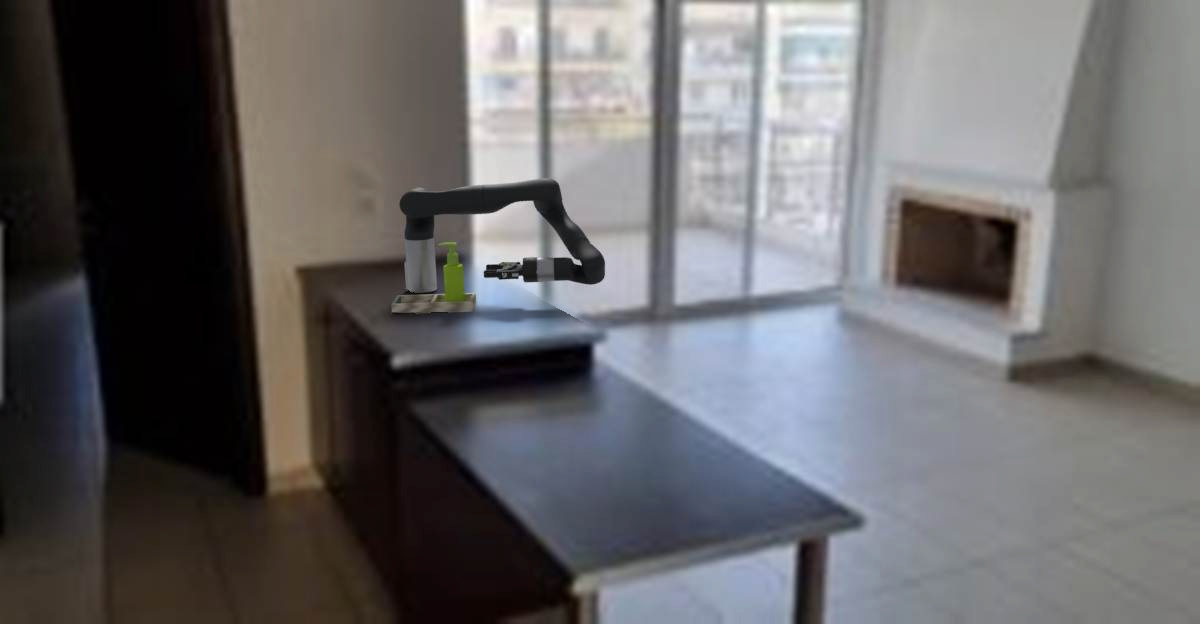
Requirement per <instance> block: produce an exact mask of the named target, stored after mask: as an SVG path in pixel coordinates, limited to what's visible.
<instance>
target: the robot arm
mask: <svg viewBox="0 0 1200 624" xmlns="http://www.w3.org/2000/svg"><path fill="white" fill-rule="evenodd" d="M519 202H533V206H534V208H535V209H536V211H537V212H538V213H539V214H540V215H541V216H542V218H543V219H545V220H546V221H547V223H549V225H550V226H551V227H552V229H554V231H555V233H556V234H557V235H558V237H559V238H560V240H561V242H562V244H563V245H564V246H565V248H566V249H567V251H568V253H569V254H570V255H571V257H572V258H573V259H575V260H577V261H579V262H580V264H577V263H575V262H574V260H573V259H572V258H571V257H565V256H564V257H563V256H562V257H559V256H558V257H551V256H550V257H549V256H543V257H542V256H538V257H535V256H531V257H523V258H522V263H521V261H502V262H499V263H498V264H497V263H495V264H493V263H490V264H486V265H485V269H484V270H483V277H484V279H489V278H490V279H492V278H495V279H498V280H500V281H502V280H503V281H504V280H519V277H522V281H523V282H524V283H549V282H556V281H557V282H562V281H567V282H568V281H569V282H573V283H578V284H581V285H582V284H583V285H596V284H599V283H601V282H602V281H604V279H605V277H606V261H605V260H606V259H605V258H604V255H603V253H602V252H601V251H600V250H599V249H598V248H597V247H596V246H594V245H593V244H592V243H591V242H590V240H589V238H588V237H587V235H586V234H585V232H584V230H583V229H582V228H580V226H579V225H578V224H576V223H575V222H574V221H573V220H572V219H571V218H570V216H569V215H568V212H567V211H566V208H565V206H564V204H563V203H564V202H563V195H562V190H561V187H560V184H559V182H557V181H556V180H555V179H553V178H549V177H545V178H544V177H543V178H542V177H541V178H534V179H530V180H529V179H528V180H523V181H517V182H516V181H515V182H507V183H506V182H504V183H496V184H495V183H493V184H476V185H466V186H462V187H456V188H452V189H448V190H442V191H429V190H427V189H426V188H423V187H413V188H412V189H410V190H408V191H406V192H404V194H403V195H402V196H401V198H400V200H399V204H398V205H399V209H400V211H401V213H402V214H403V215H404V216H405V220H406V222H405V228H404V243H405V245H404V247H405V258H406V259H405V261H404V264H403V265H404V275H405V276H404V277H405V290H406V289H408V290H409V291H410V292H409V291H408V290H407V291H408V292H409V293H413V292H414V293H415V294H423V293H426V294H427V293H431V292H435V291H437V289H438V284H437V269H436V268H437V266H436V265H437V264H436V250H435V237H434V236H435V235H434V231H435V216H439V215H440V216H441V215H460V216H461V215H485V214H486V215H488V214H494V213H497V212H498V211H501V210H502V209H505V208H506V207H508V206H510V205H512V204H515V203H519Z"/></svg>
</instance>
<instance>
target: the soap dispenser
mask: <svg viewBox="0 0 1200 624" xmlns="http://www.w3.org/2000/svg"><path fill="white" fill-rule="evenodd" d="M443 246H448V250H449V252H448V253H447V254H446V262H447V263H446V264H444V265H443V267H442V268H443V281H444V294H445V302H461V301H465V293H466V292H465V291H466V290H465V278H464V277H465V275H464V264H462V263H459V262H460V261H459V253H457V252H456V246H457V242H456V241H455V242H452V241H449V242H447V241H446V242H441V243H439V244H438V247H443Z"/></svg>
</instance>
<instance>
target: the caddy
mask: <svg viewBox="0 0 1200 624" xmlns="http://www.w3.org/2000/svg"><path fill="white" fill-rule="evenodd" d="M476 304H477V294H476V292H472V293H471V292H465V301H461V302H445V293H433V294H432V293H431V294H430V293H429V294H427V293H426V294H403V295H402V294H401V295H400V294H399V295H398V294H397V295H396V297H395V299H394V300H393V302H392V303H391V307H390V309H391V313H392V312H415V313H416V312H422V313H421V314H432V313H431V312H448V313H472V312H474V310H475V307H476ZM416 314H417V313H416Z"/></svg>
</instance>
